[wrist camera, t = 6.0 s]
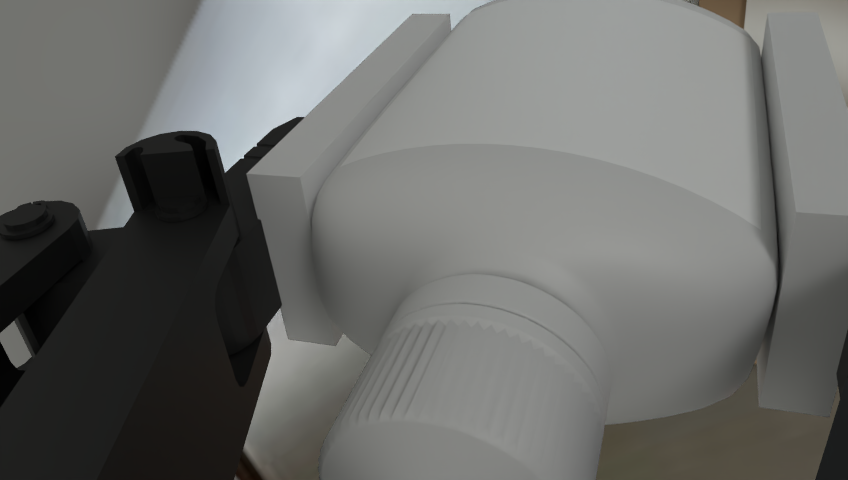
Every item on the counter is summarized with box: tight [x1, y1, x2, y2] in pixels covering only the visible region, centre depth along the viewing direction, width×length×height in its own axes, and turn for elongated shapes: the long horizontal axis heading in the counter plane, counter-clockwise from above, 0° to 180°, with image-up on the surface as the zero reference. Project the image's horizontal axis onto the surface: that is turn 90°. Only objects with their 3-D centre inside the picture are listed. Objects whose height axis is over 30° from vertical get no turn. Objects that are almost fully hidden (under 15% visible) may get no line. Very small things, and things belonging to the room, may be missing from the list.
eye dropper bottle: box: [312, 0, 779, 480], centre depth 10 cm, size 4×6×12 cm
